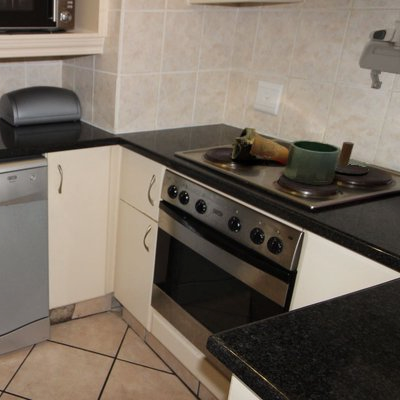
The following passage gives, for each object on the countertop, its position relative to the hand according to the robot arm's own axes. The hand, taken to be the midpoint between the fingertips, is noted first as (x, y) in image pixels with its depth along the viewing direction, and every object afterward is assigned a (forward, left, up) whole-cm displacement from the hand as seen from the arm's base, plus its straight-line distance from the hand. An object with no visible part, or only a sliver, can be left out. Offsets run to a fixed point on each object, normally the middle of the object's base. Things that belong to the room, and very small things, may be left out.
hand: (393, 92), depth 122 cm
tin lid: (+10, -15, -26) cm, 32 cm away
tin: (+14, +2, -27) cm, 30 cm away
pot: (+32, 0, -27) cm, 42 cm away
